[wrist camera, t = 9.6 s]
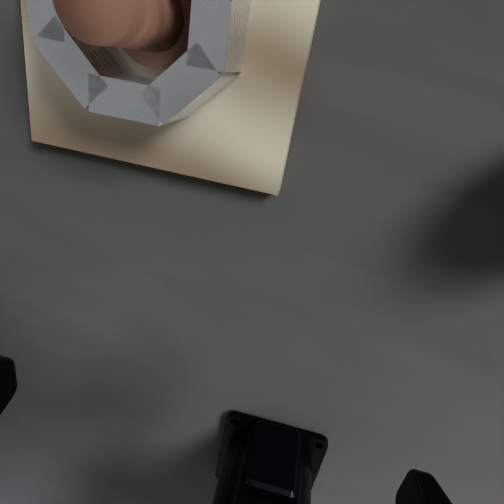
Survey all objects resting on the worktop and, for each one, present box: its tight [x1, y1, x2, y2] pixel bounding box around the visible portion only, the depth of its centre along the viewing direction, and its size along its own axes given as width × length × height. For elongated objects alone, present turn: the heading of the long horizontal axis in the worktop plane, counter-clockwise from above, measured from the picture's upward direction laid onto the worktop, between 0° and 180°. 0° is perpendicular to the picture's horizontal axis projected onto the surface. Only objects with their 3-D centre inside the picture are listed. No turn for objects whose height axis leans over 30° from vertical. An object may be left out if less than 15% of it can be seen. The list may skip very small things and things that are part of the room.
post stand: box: [20, 0, 321, 196], centre depth 14 cm, size 12×12×6 cm
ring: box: [27, 0, 252, 126], centre depth 14 cm, size 7×7×3 cm
